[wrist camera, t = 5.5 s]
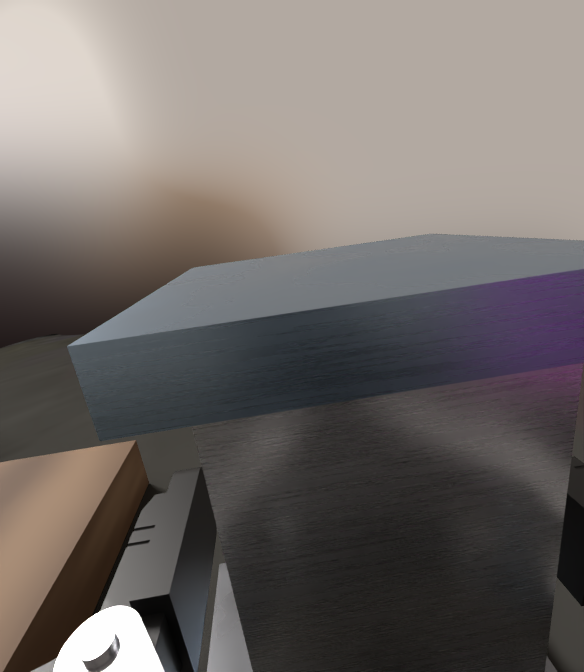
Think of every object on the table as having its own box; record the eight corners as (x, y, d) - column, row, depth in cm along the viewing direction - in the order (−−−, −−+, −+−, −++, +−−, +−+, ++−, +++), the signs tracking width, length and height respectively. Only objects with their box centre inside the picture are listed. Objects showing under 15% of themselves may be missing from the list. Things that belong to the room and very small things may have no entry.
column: (268, 932, 7) (67, 347, 3) (264, 599, 13) (192, 267, 9) (585, 859, 7) (729, 247, 4) (435, 567, 13) (430, 233, 10)
